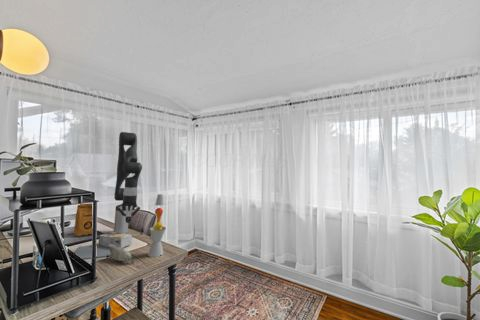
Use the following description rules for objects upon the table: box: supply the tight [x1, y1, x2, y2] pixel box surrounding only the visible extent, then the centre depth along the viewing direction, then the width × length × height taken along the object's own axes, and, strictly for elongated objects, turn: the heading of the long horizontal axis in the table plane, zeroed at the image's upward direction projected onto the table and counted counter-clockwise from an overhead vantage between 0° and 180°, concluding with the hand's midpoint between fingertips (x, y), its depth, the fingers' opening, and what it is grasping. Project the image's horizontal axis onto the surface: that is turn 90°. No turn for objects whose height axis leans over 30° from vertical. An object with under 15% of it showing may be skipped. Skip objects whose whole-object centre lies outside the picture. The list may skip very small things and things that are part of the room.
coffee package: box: [73, 203, 93, 237], centre depth 151 cm, size 10×12×22 cm
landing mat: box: [74, 244, 112, 260], centre depth 124 cm, size 20×22×1 cm
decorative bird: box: [105, 244, 132, 265], centre depth 114 cm, size 5×16×8 cm, turn 67°
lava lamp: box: [147, 193, 167, 258], centre depth 126 cm, size 9×9×35 cm
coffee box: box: [98, 231, 133, 249], centre depth 134 cm, size 9×6×16 cm
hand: (127, 222), depth 131 cm, fingers closed
